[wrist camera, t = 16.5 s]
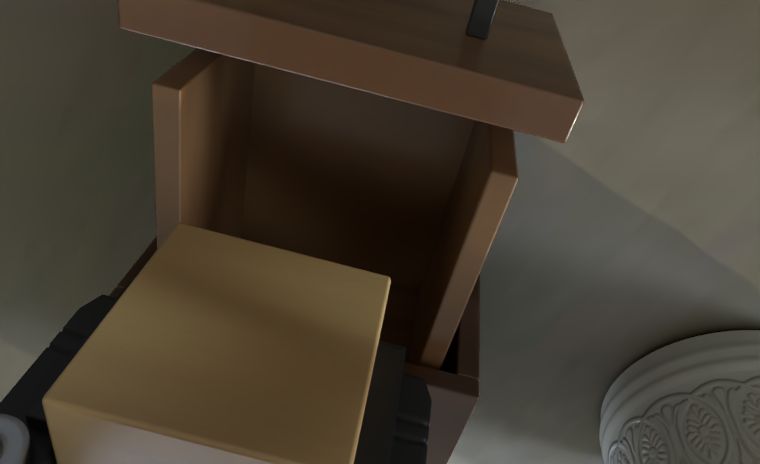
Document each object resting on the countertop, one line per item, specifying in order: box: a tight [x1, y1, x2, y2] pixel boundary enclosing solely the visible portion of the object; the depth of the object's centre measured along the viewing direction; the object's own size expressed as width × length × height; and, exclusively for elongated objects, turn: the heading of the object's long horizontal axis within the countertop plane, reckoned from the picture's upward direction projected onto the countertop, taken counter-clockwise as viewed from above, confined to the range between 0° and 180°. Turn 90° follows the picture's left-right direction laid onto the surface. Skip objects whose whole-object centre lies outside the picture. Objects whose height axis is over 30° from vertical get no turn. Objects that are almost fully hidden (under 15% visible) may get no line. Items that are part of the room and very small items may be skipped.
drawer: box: [117, 0, 584, 370], centre depth 19 cm, size 18×11×8 cm, turn 169°
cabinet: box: [110, 236, 480, 464], centre depth 27 cm, size 15×13×10 cm
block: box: [42, 223, 391, 464], centre depth 11 cm, size 4×4×4 cm
